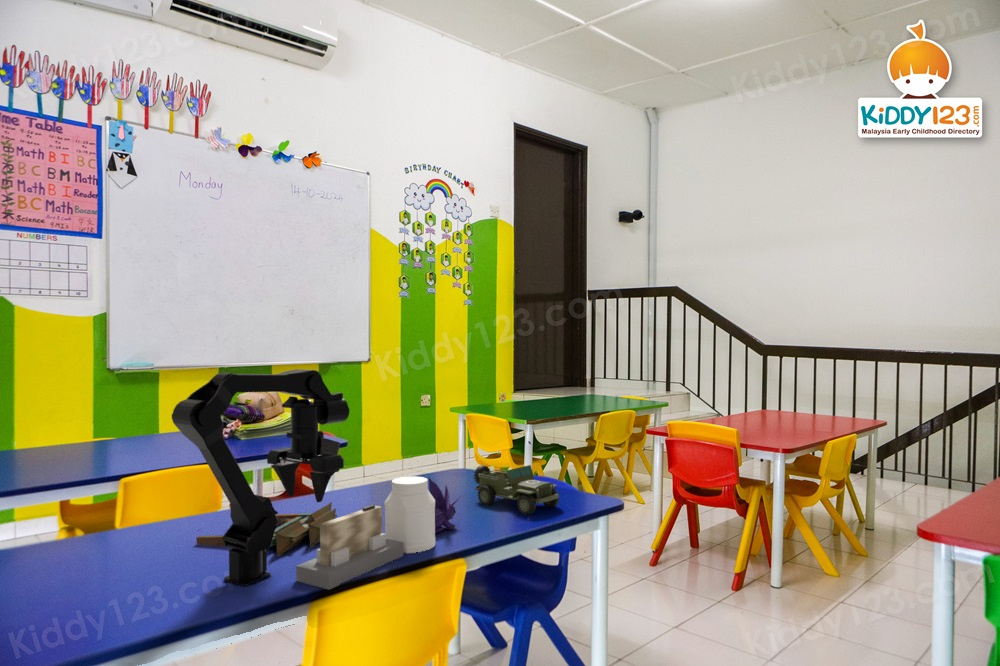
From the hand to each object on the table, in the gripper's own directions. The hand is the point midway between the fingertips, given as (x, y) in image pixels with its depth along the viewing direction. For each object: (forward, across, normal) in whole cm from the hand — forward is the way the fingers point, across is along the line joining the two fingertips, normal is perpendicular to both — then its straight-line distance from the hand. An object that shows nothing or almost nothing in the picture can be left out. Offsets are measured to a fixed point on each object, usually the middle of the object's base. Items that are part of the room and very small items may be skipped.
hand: (305, 499), depth 144 cm
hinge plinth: (+13, -13, -2) cm, 18 cm away
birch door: (+10, -13, -2) cm, 16 cm away
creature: (+13, -10, -32) cm, 36 cm away
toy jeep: (+13, -14, -62) cm, 65 cm away
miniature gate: (+14, +19, -7) cm, 25 cm away
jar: (+13, -13, -19) cm, 27 cm away
